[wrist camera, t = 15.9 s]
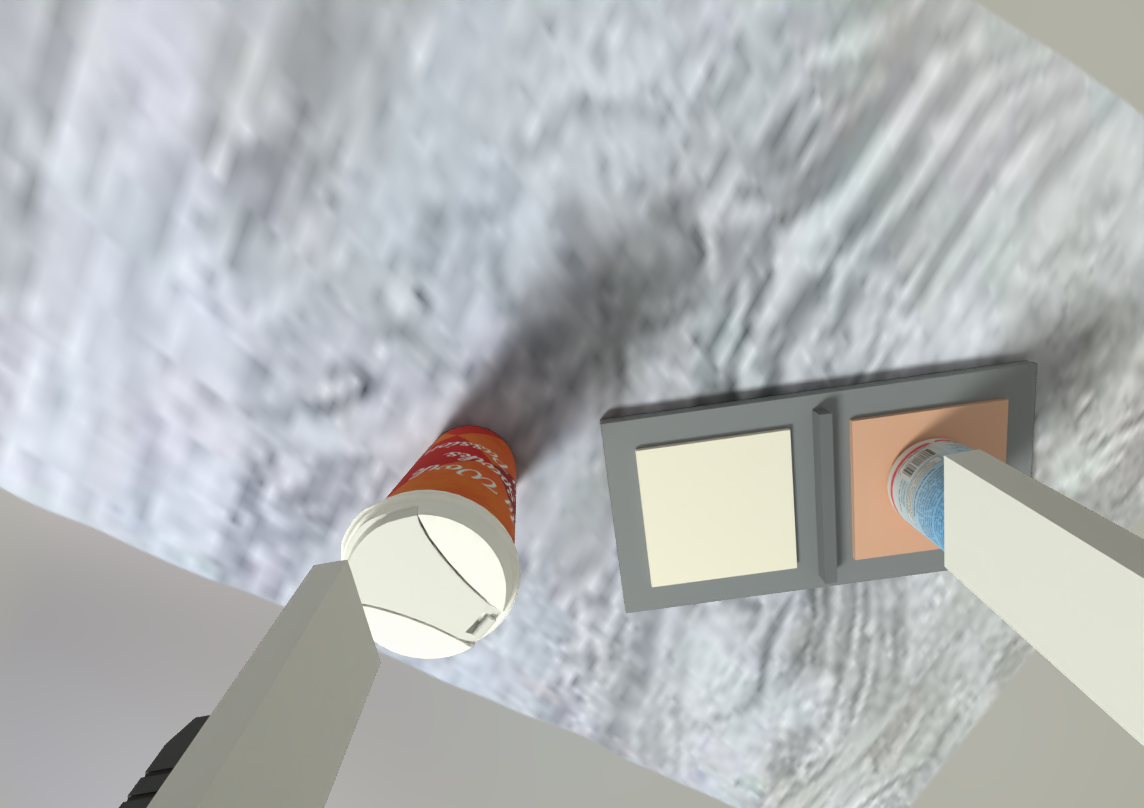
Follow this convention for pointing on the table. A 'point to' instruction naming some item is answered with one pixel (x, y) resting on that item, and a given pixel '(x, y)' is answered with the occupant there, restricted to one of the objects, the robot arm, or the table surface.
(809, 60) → the table surface
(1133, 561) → the robot arm
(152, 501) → the table surface
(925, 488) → the pill bottle
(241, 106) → the table surface
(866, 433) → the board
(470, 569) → the coffee cup
